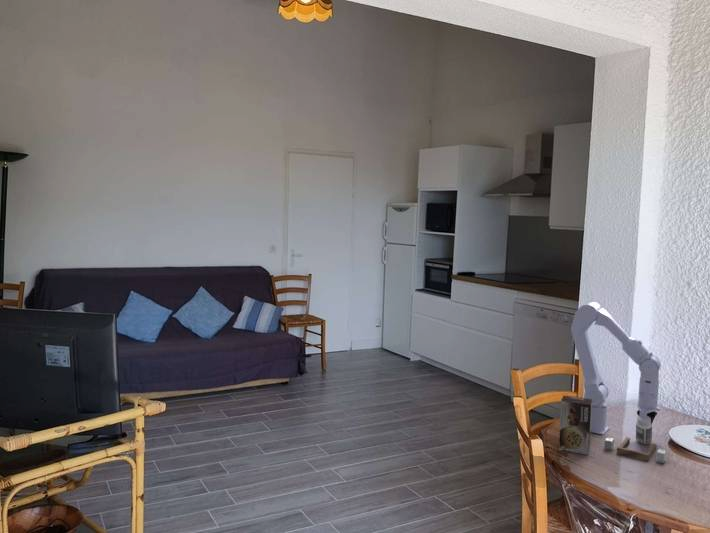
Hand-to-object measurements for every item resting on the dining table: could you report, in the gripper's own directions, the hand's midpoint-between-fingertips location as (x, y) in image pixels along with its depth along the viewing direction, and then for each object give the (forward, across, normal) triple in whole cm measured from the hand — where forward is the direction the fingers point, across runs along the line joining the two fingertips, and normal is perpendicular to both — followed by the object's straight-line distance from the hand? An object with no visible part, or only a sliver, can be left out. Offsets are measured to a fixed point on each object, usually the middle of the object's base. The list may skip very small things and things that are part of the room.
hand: (645, 432), depth 199 cm
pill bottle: (+2, -2, 0) cm, 3 cm away
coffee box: (+3, -24, +16) cm, 29 cm away
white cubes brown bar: (+3, -12, 0) cm, 13 cm away
